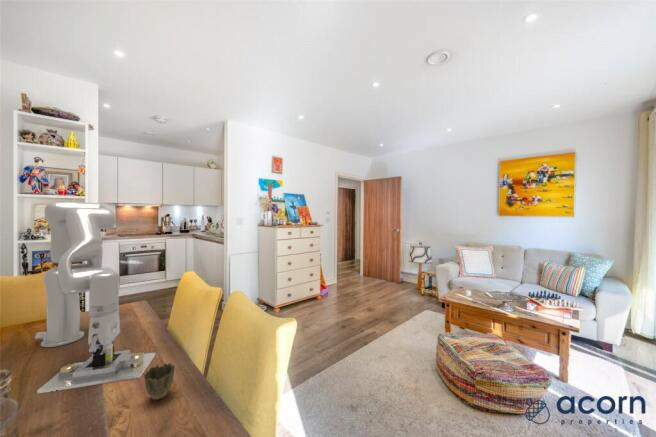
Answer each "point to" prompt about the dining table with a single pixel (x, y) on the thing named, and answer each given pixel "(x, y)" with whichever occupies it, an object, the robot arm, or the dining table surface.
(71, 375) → the gray plate
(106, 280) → the robot arm
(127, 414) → the dining table surface
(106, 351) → the supplement bottle
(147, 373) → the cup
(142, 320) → the dining table surface
